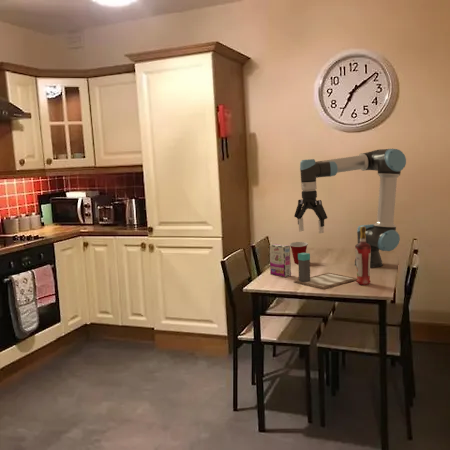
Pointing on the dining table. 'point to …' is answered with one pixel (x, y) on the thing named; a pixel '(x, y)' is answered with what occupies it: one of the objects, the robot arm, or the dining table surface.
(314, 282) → the striped kitchen towel
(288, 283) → the dining table surface
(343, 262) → the dining table surface
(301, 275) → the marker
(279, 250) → the candy bar box
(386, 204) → the robot arm
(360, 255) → the liquor
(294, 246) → the plastic cup
